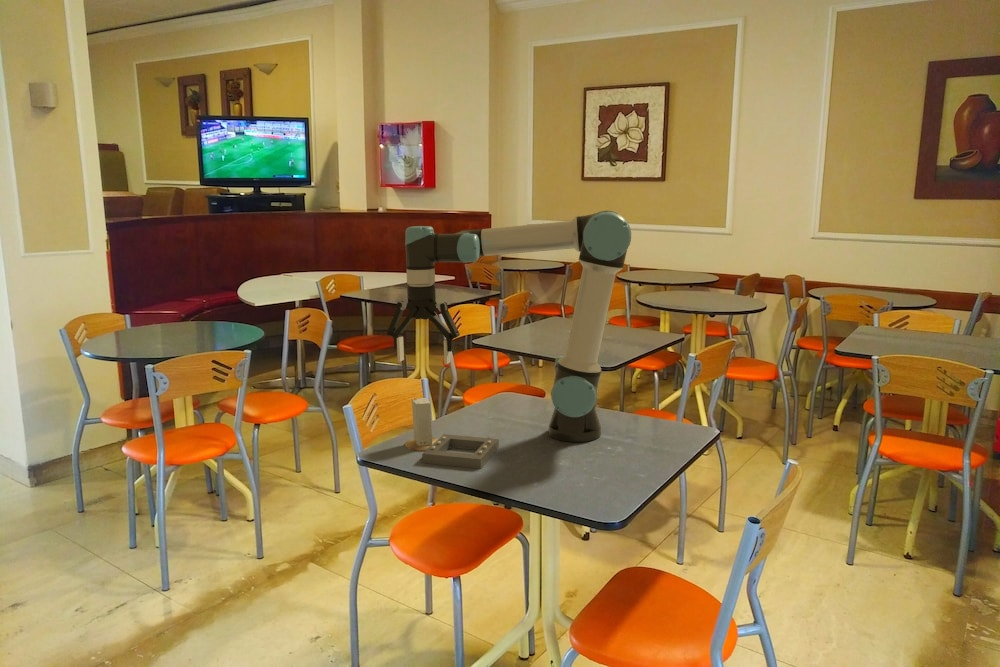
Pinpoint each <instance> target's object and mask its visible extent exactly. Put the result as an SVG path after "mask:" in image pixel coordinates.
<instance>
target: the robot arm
mask: <svg viewBox="0 0 1000 667" xmlns="http://www.w3.org/2000/svg"><path fill="white" fill-rule="evenodd" d="M404 240H405V243H404V247H405V248H404V249H405V261H406V262H405V263H406V284H407V287H406V290H407V292H406V294H407V302H405V301H403V300H401V301H398V302H397V303H396V308H395V313H394V315H393V317H392V319H391V322H390V324H389V326H388V328H387V331H386V335H387V336H391V337H393V338H392V339H393V348H394V350H396V351H397V352H396V355H397V356H396V357H397V363H399V362H400V363H401V362H402V361H405V351H404V350H405V346H404V336H402V334H403V333H404V332H405V330H406V329H407V327H409V325H410V323H412V321H413V320H414V319H415V320H424V321H425V320H430V322H431V323H433V324H434V325H435V327H436V328H437V329H438V331H439V332H440V333H441V334H442V336H443V337H444V338H445V339H444V340H443V358H444V359H443V362H444V363H443V364H444V365H448V364H451V352H453V350H454V339H457V338H458V337H460V335H461V334H460V331H459V330H458V328H457V326H456V324H455V322H454V319H453V317H452V316H451V313H450V312H449V308H448V303H447V302H441V303H437V301H436V300H437V297H436V285H435V284H434V283H436V273H435V272H436V270H435V268H436V267H435V263H463V264H467V263H475V262H477V261H479V258H480V257H488V256H489V257H490V256H500V255H509V254H510V255H511V254H512V255H513V254H524V253H536V252H538V253H539V252H546V251H560V250H571V249H572V250H573V249H574V250H576V252H579V255H578V256H579V257H578V261H579V263H580V264H581V266H582V271H581V276H580V281H579V287H578V290H577V296H576V301H575V304H574V305H575V306H574V311H573V315H572V320H571V325H570V329H569V330H570V331H569V334H568V336H569V337H568V340H567V345H566V349H565V353H564V354H565V355H559V356H557V357H555V363H554V381H553V385H552V388H551V391H550V396H551V398H550V399H551V400H552V401H551V402H552V404H553V406H554V409H553V412H552V415H551V418H550V421H549V424H548V435H549V436H550V437H551V438H553V439H555V440H558V441H561V442H562V441H563V442H570V443H582V442H590V441H594V440H597V439H599V438H600V437H601V435H602V425H601V422H600V419H599V416H598V413H597V410H596V403H597V399H598V396H597V394H598V393H597V391H598V388H599V387H598V386H599V383H600V378H601V374H602V368H601V366H600V365H599V363H598V359H599V354H600V350H601V346H602V340H603V336H604V331H605V327H606V321H607V318H608V312H609V308H610V302H611V299H612V298H611V297H612V295H613V294H612V292H613V289H614V284H615V279H616V275H617V274H618V273H619V272H620V271H621V270H623V269H624V265H625V261H626V256H627V252H628V249H629V246H631V241H632V230H631V227H630V224H629V222H628V221H627V219H626V218H625V217H623V215H621V214H620V213H618V212H615V211H612V210H602V211H599V212H596V213H595V212H594V213H591V214H587V215H582V216H581V215H580V216H579V215H578V216H575V217H574V218H573V219H572V220H568V221H567V220H564V221H554V222H546V223H545V222H543V223H535V224H534V223H533V224H524V225H511V226H504V227H503V226H502V227H489V228H482V229H471V230H470V229H463V230H460V231H458V232H456V233H435V231H434V228H433V227H432V226H430V225H429V226H428V225H427V226H426V225H425V226H424V225H418V226H416V225H414V226H408V227H407V228H406V229H405V238H404ZM406 309H407V310H408V312H409V313H408V314H407V316H406V317H405V319H404V320H403V321H402V323H401V324H400V325H399V322H400V320H401V318H402V315H403V313H404V310H406ZM436 310H438V311H439V312H440V314H441V316H442V319H443V320H444V322H443V321H442V319H440V318H439V317H440V316H439V315H438V314H437V312H436ZM444 323H445V324H446V325H445V324H444ZM398 325H399V326H398Z"/></svg>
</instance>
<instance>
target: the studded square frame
mask: <svg viewBox="0 0 1000 667" xmlns="http://www.w3.org/2000/svg"><path fill="white" fill-rule="evenodd" d="M499 440H500V439H499V438H492V437H491V438H489V437H481V436H468V435H457V434H456V435H455V434H443V435H441V436H440V437H439V438H438V440H437V441H436V442H435V443H434V444H432V445H431V446H430V447H429V448H428V449H427V450H426V451H423V452H422V463H423V464H430V465H431V464H432V465H440V466H442V465H443V466H451V467H463V468H471V469H482V468H483V467H484V466H485V464H486V463H487V462H488V461H489V460H490V459H491V457H493V455H494V454H495V453H496V452H497V450H499V448H500V445H499V444H500V442H499ZM450 448H456V449H466V450H476V451H475V452H474V453H466V452H465V453H463V452H454V451H448V450H449V449H450Z"/></svg>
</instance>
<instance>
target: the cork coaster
mask: <svg viewBox="0 0 1000 667" xmlns="http://www.w3.org/2000/svg"><path fill="white" fill-rule="evenodd" d="M438 439H439V438H437V437H433V436H432V444H434V443H435V442H436V441H437V440H438ZM404 445H405V448H406V449H408V450H410V451H416V452H425V451H426V450H427V449H428V448H429V447H430V446H431V445H428V446H418V445H417V443H416V442H415V440H414V437H413V438H410V439H408V440H406V441H405V444H404Z"/></svg>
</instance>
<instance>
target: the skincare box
mask: <svg viewBox="0 0 1000 667" xmlns="http://www.w3.org/2000/svg"><path fill="white" fill-rule="evenodd" d="M411 409H412V422H413V423H412V424H413V438H414V440H415V442H416V443H417V445H418V446H428V445H432V437H433V430H432V428H433V426H432V411H431V402H430V401H429V400H428V398H426V397H421V398H412V399H411Z"/></svg>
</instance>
